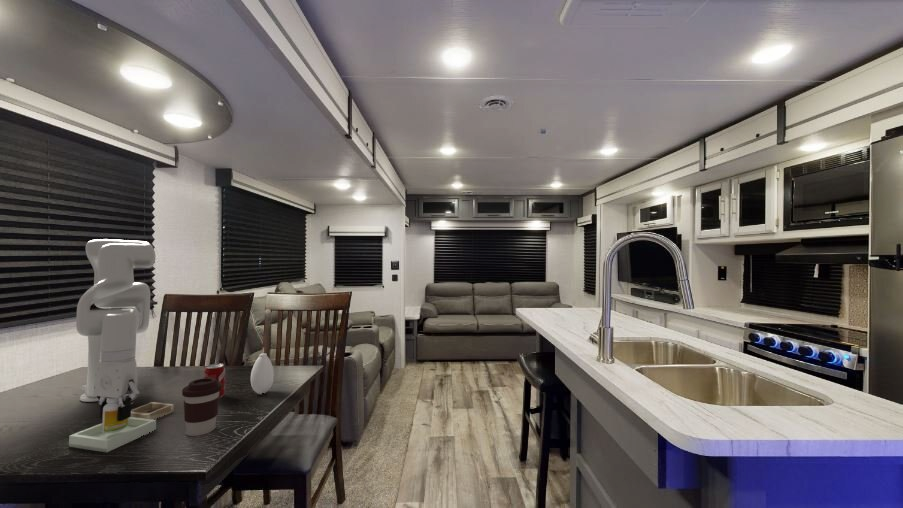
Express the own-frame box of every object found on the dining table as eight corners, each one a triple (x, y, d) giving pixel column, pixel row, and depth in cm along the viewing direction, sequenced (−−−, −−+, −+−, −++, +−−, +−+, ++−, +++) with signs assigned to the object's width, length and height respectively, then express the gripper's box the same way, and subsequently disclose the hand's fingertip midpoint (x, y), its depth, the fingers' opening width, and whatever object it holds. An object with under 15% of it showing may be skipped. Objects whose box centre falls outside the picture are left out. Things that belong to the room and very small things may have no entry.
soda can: (213, 402, 129) (214, 368, 130) (198, 400, 131) (199, 367, 131) (228, 395, 136) (229, 363, 136) (213, 393, 137) (215, 362, 138)
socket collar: (124, 420, 113) (124, 412, 113) (152, 409, 122) (152, 401, 122) (146, 423, 112) (147, 415, 112) (173, 411, 120) (173, 404, 120)
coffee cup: (189, 442, 101) (191, 389, 101) (174, 433, 106) (176, 382, 106) (226, 429, 109) (228, 379, 109) (211, 420, 114) (212, 374, 115)
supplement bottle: (131, 427, 104) (132, 394, 104) (107, 435, 99) (108, 400, 99) (121, 424, 106) (123, 391, 106) (98, 431, 101) (99, 397, 101)
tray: (68, 446, 97) (69, 435, 97) (121, 425, 110) (121, 415, 110) (106, 452, 95) (107, 440, 95) (155, 430, 107) (156, 420, 107)
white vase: (245, 395, 136) (247, 348, 137) (263, 388, 144) (264, 344, 144) (260, 398, 134) (262, 350, 134) (277, 391, 141) (278, 346, 141)
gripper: (79, 356, 101) (76, 420, 100) (128, 361, 98) (125, 427, 97) (109, 350, 108) (106, 409, 108) (155, 354, 105) (152, 415, 105)
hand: (115, 417), depth 103 cm, fingers closed on supplement bottle, 5 cm apart
